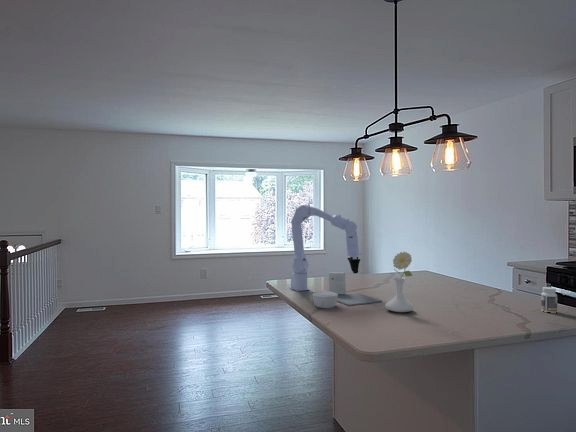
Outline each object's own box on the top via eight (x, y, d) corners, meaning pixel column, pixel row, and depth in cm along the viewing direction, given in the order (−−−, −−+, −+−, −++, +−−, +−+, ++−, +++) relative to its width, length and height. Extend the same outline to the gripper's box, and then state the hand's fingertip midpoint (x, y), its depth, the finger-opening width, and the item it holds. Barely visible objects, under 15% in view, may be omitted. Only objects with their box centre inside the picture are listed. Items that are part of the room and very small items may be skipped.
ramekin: (315, 309, 170) (315, 297, 170) (309, 303, 181) (309, 291, 181) (341, 308, 172) (341, 296, 172) (334, 302, 183) (334, 290, 183)
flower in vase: (379, 309, 171) (380, 250, 170) (401, 306, 175) (402, 249, 174) (399, 316, 159) (399, 253, 158) (422, 314, 163) (423, 252, 162)
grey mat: (326, 297, 192) (326, 296, 192) (358, 294, 200) (358, 293, 200) (348, 305, 176) (348, 304, 176) (381, 301, 184) (381, 300, 184)
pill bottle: (558, 311, 167) (559, 287, 167) (555, 314, 163) (555, 289, 163) (542, 309, 171) (543, 286, 171) (539, 311, 167) (539, 287, 167)
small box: (345, 293, 201) (345, 272, 202) (345, 294, 195) (345, 272, 197) (329, 293, 202) (329, 272, 203) (329, 294, 196) (329, 272, 198)
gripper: (362, 245, 196) (364, 273, 196) (358, 243, 211) (361, 269, 211) (347, 246, 197) (350, 274, 197) (345, 244, 211) (347, 270, 211)
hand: (354, 272), depth 204 cm, fingers open, 7 cm apart
